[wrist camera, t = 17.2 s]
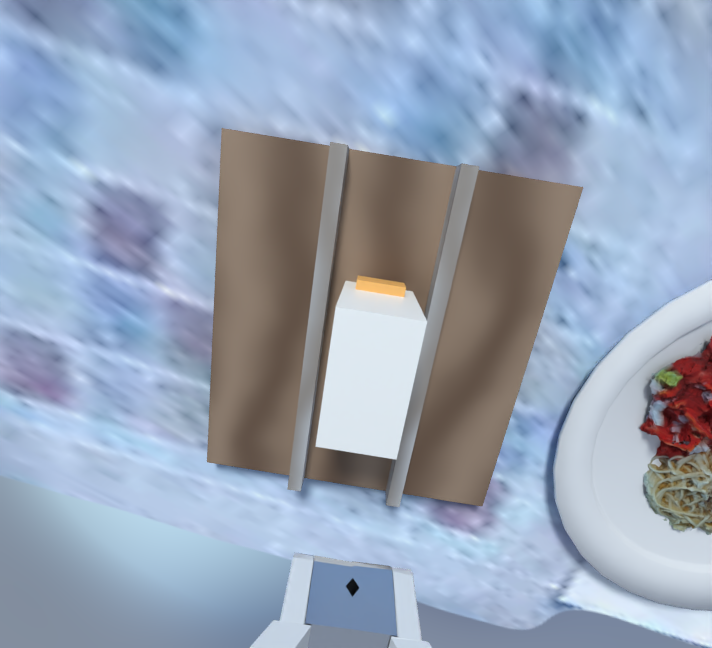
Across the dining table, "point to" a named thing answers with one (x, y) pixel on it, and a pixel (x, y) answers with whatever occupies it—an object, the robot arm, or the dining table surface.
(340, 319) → the rail module
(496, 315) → the rail panel
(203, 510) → the dining table surface
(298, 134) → the dining table surface
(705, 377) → the plated food
